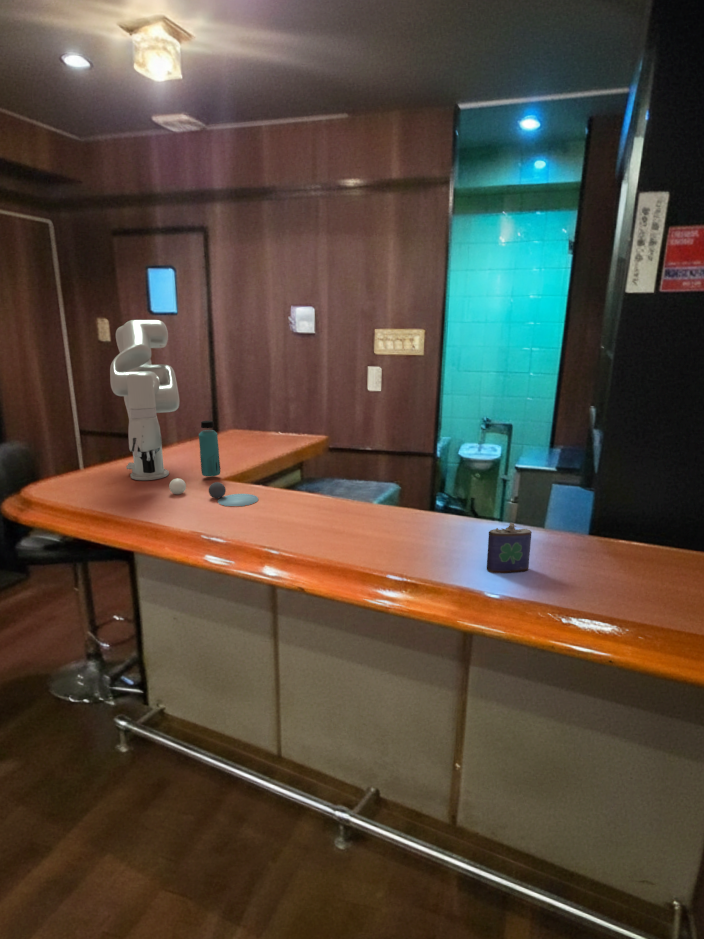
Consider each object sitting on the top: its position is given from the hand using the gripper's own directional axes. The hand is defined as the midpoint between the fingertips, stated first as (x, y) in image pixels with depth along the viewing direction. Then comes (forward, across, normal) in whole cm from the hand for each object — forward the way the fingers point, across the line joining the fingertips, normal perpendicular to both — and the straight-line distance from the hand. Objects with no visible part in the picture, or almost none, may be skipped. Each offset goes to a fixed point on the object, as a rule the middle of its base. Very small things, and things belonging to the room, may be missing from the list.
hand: (149, 472), depth 168 cm
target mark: (+7, -1, +30) cm, 31 cm away
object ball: (+4, -1, +23) cm, 24 cm away
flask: (+10, +24, +109) cm, 112 cm away
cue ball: (+4, -1, +9) cm, 10 cm away
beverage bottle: (+6, -20, +9) cm, 23 cm away
